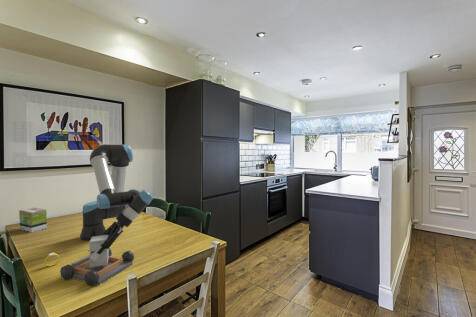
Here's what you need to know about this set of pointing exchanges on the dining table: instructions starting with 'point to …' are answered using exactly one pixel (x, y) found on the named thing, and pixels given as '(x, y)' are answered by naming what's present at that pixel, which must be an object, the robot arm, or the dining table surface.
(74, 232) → the dining table surface
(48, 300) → the dining table surface
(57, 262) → the watch
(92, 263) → the supplement box
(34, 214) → the tea box
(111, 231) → the robot arm
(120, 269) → the toy car chassis
